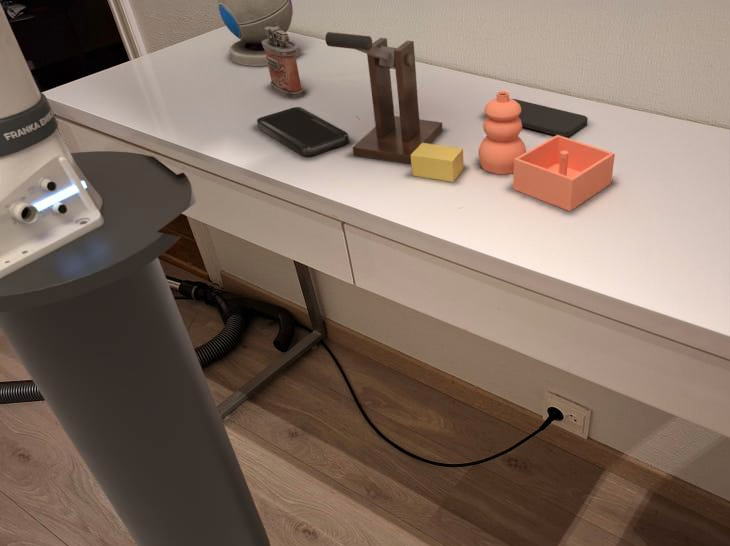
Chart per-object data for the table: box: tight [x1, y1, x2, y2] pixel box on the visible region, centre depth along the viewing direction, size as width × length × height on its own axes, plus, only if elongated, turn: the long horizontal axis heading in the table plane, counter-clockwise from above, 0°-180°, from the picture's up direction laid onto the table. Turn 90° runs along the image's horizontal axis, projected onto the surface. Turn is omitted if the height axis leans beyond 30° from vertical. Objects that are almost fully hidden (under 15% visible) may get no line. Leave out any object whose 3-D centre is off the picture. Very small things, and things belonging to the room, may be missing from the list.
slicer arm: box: [324, 31, 398, 70], centre depth 86 cm, size 14×6×2 cm, turn 161°
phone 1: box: [256, 106, 350, 157], centre depth 101 cm, size 8×1×15 cm
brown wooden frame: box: [352, 37, 444, 165], centre depth 95 cm, size 12×9×14 cm
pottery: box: [478, 90, 616, 212], centre depth 88 cm, size 18×10×10 cm, turn 49°
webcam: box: [217, 0, 301, 67], centre depth 124 cm, size 13×13×15 cm
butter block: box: [410, 143, 465, 183], centre depth 91 cm, size 4×6×3 cm, turn 71°
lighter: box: [262, 26, 305, 99], centre depth 112 cm, size 8×3×10 cm, turn 42°
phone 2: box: [485, 98, 589, 138], centre depth 104 cm, size 7×1×15 cm
